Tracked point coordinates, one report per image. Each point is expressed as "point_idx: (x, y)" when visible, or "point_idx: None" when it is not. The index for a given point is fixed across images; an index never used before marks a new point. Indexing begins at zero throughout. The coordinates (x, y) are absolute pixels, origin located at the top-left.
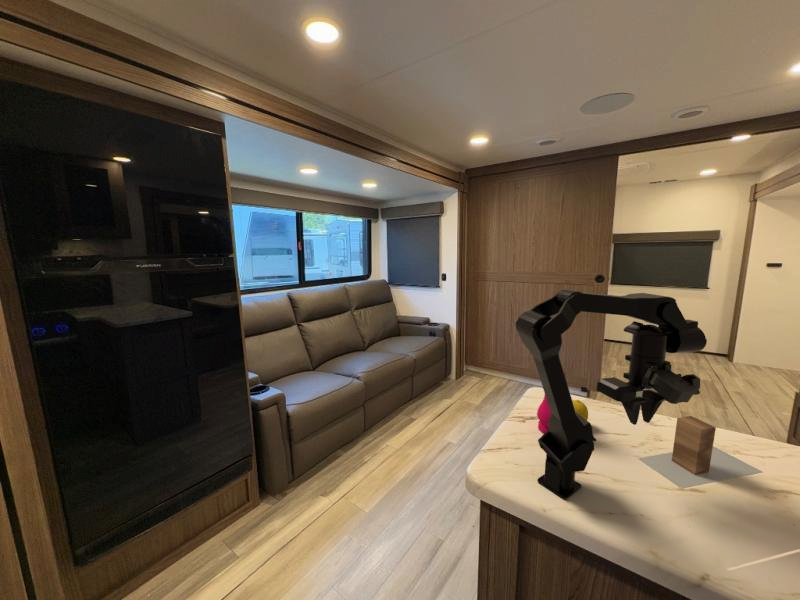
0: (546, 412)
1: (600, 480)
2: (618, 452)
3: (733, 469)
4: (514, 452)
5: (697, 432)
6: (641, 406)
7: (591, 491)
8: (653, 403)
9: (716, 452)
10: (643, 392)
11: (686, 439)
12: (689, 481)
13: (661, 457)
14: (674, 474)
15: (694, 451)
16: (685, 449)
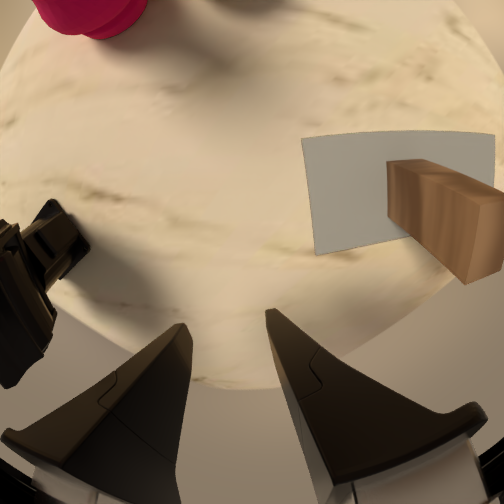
0: (42, 18)
1: (138, 224)
2: (266, 102)
3: None
4: (4, 141)
5: (456, 267)
6: (276, 350)
7: (107, 257)
8: (300, 443)
9: (485, 156)
10: (312, 456)
11: (435, 220)
12: (356, 235)
13: (373, 145)
14: (345, 210)
15: (420, 234)
16: (416, 208)
